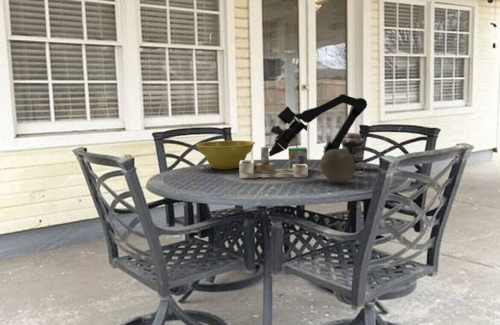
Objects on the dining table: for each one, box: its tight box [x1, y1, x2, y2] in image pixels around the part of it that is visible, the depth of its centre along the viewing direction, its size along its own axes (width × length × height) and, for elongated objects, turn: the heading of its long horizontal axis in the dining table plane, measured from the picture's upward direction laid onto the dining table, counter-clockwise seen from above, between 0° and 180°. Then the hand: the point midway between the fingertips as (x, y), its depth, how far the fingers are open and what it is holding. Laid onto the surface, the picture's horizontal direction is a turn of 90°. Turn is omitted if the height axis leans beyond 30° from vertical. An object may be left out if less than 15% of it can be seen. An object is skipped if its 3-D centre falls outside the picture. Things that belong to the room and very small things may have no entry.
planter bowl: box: [195, 140, 256, 170], centre depth 278 cm, size 32×32×13 cm
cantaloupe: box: [320, 148, 356, 185], centre depth 217 cm, size 14×14×15 cm
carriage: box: [255, 146, 275, 170], centre depth 244 cm, size 8×8×10 cm
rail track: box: [238, 159, 309, 179], centre depth 245 cm, size 32×12×8 cm, turn 88°
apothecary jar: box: [340, 132, 365, 171], centre depth 260 cm, size 12×12×18 cm
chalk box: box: [287, 141, 309, 169], centre depth 260 cm, size 9×9×15 cm
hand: (269, 154), depth 244 cm, fingers open, 9 cm apart
